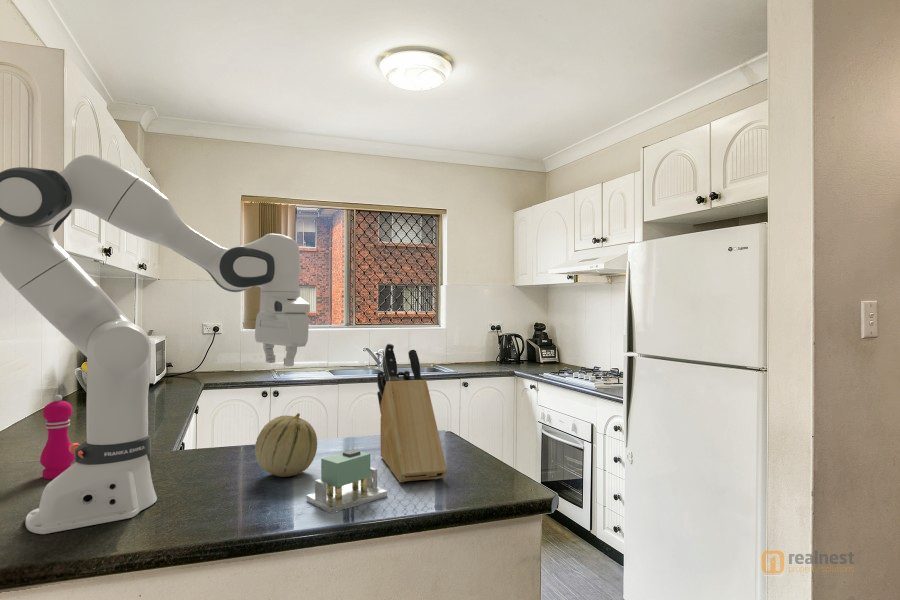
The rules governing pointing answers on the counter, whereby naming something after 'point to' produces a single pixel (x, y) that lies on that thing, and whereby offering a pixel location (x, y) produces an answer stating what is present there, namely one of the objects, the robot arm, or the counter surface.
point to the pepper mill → (57, 438)
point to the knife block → (408, 422)
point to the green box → (345, 468)
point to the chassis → (346, 493)
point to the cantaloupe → (286, 446)
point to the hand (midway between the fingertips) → (279, 364)
